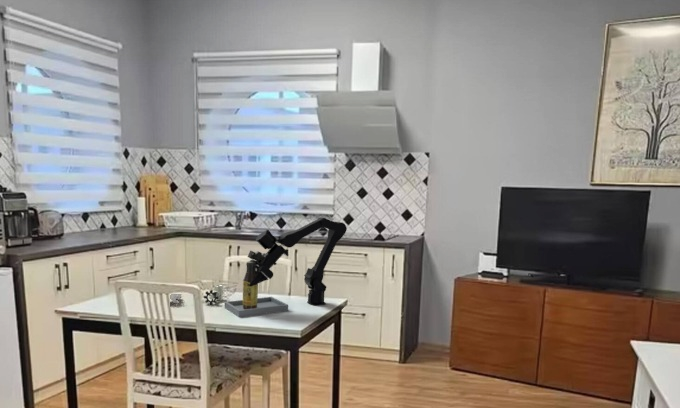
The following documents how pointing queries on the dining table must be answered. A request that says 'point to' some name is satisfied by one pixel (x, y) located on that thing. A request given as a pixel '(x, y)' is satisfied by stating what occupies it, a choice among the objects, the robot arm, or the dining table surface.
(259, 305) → the tray
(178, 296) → the penguin figurine
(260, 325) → the dining table surface
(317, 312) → the dining table surface
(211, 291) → the valve
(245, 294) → the sauce bottle
